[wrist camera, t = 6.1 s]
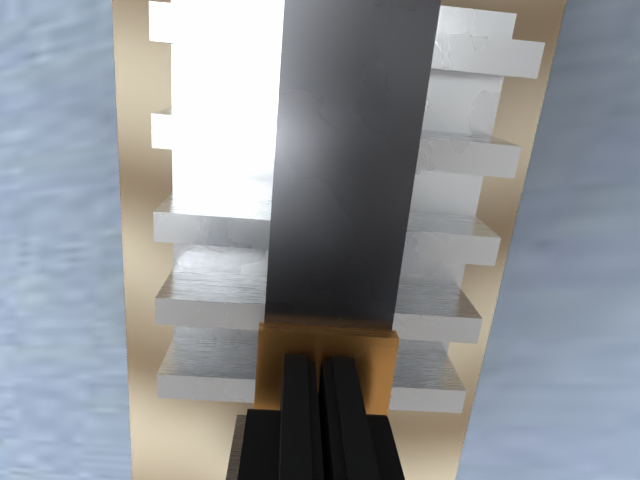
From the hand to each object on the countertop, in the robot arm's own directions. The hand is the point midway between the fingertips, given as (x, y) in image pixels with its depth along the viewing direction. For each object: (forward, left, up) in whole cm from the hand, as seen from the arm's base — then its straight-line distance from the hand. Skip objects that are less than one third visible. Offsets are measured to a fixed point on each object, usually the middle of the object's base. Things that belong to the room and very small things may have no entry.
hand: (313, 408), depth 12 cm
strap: (-5, 0, -2) cm, 5 cm away
